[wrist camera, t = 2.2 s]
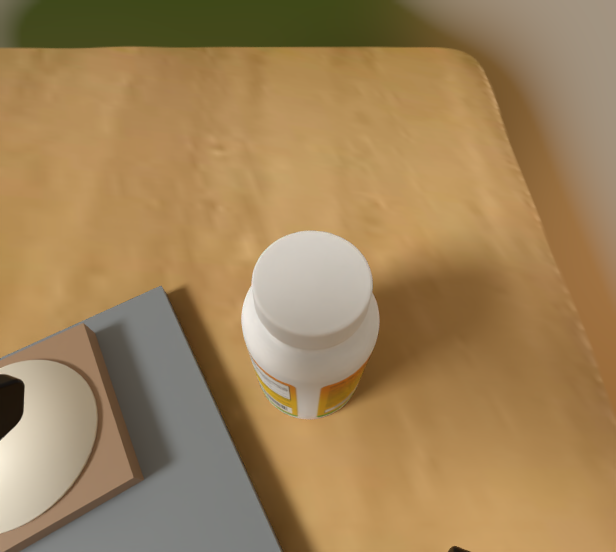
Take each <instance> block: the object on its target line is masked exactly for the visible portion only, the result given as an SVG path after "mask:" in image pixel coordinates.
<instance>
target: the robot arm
mask: <svg viewBox="0 0 616 552" xmlns="http://www.w3.org/2000/svg"><path fill="white" fill-rule="evenodd" d="M24 392H25V385H24V383H23V381H22V380H21V379H18V378H16V377H13V376H10V375H7V374H0V440H2V439H3V438H4V437H5V436H6V435H7V434H8V433H9V432H10V431H11V430H12V429H13V428H14V427H15V426H16V425H17V424H18V423H19V421H20V420H21V418H22V416H23V412H24ZM448 552H470V551H467V550H465V549H462V548H460V547H457V546H453V547H451V548H450V550H449V551H448Z"/></svg>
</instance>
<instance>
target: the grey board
mask: <svg viewBox="0 0 616 552" xmlns="http://www.w3.org/2000/svg"><path fill="white" fill-rule="evenodd" d="M0 374H7V375H10V376H13V377H16V378H18V379H21V380H22V381H23V383H24V385H25V392H24V412H23V416H22V418H21V420H20V421H19V423H18V424H17V425H16V426H15V427H14V428H13V429H12V430H11V431H10V432H9V433H8V434H7V435H6V436H5V437H4V438H3V439H2V440H0V552H283V550H282V548H281V546H280V544H279V541H278V539H277V537H276V535H275V533H274V530H273V528H272V526H271V524H270V521H269V519H268V517H267V515H266V513H265V510H264V508H263V506H262V504H261V502H260V499H259V497H258V495H257V493H256V491H255V488H254V486H253V484H252V482H251V480H250V477H249V475H248V473H247V471H246V468H245V466H244V464H243V462H242V460H241V457H240V455H239V453H238V451H237V449H236V446H235V444H234V442H233V440H232V438H231V435H230V433H229V431H228V429H227V426H226V424H225V422H224V420H223V418H222V415H221V413H220V411H219V409H218V407H217V404H216V402H215V400H214V398H213V396H212V393H211V391H210V389H209V387H208V385H207V382H206V380H205V378H204V376H203V373H202V371H201V369H200V367H199V365H198V362H197V360H196V358H195V356H194V354H193V351H192V349H191V347H190V345H189V343H188V340H187V338H186V336H185V334H184V332H183V329H182V327H181V325H180V323H179V320H178V318H177V316H176V314H175V312H174V309H173V307H172V305H171V303H170V301H169V298H168V296H167V294H166V292H165V291H164V289H163V288H162V286H159V287H157V288H155V289H152V290H150V291H148V292H146V293H144V294H141V295H139V296H137V297H135V298H133V299H130V300H128V301H126V302H124V303H121V304H119V305H117V306H115V307H113V308H110V309H108V310H106V311H104V312H102V313H99V314H97V315H95V316H93V317H90V318H88V319H86V320H84V321H82V322H79V323H77V324H75V325H73V326H70V327H68V328H66V329H64V330H62V331H59V332H57V333H55V334H53V335H51V336H48V337H46V338H44V339H42V340H39V341H37V342H35V343H33V344H31V345H28V346H26V347H24V348H22V349H20V350H17V351H15V352H13V353H11V354H8V355H6V356H4V357H2V358H0Z"/></svg>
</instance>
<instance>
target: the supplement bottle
mask: <svg viewBox="0 0 616 552" xmlns="http://www.w3.org/2000/svg"><path fill="white" fill-rule="evenodd" d="M372 290H373V280H372V274H371V270H370V267H369V265H368V263H367V261H366V259H365V257H364V256H363V255H362V253H361V252H360V251H359V250H358V249H357V248H356V247H355V246H354V245H352V244H351V243H350V242H348V241H347V240H345V239H343V238H341V237H339V236H337V235H334V234H331V233H327V232H322V231H301V232H296V233H293V234H289V235H287V236H284V237H282V238H280V239H278V240H277V241H275V242H274V243H272V244H271V245H270V246H269V247H268V248H267V249H266V250H265V251H264V252H263V253H262V254H261V256H260V257H259V259H258V261H257V263H256V265H255V268H254V271H253V275H252V286H251V287H250V289H249V291H248V293H247V295H246V298H245V300H244V304H243V309H242V330H243V335H244V339H245V343H246V346H247V349H248V351H249V354H250V357H251V360H252V363H253V366H254V369H255V372H256V375H257V378H258V381H259V383H260V386H261V388H262V390H263V392H264V394H265V395H266V397H267V398H268V400H269V401H270V402H271V403H272V404H273V405H274V406H275V407H276V408H277V409H279V410H280V411H282V412H283V413H285V414H287V415H289V416H292V417H295V418H300V419H318V418H322V417H325V416H328V415H330V414H332V413H334V412H336V411H337V410H339V409H340V408H341V407H343V406H344V405H345V404H346V403H347V402H348V400H349V399H350V398H351V396H352V395H353V393H354V391H355V390H356V388H357V385H358V383H359V381H360V378H361V376H362V374H363V372H364V369H365V367H366V365H367V362H368V360H369V358H370V356H371V353H372V351H373V349H374V346H375V343H376V340H377V337H378V332H379V324H380V320H379V310H378V305H377V302H376V299H375V296H374V294H373V293H372Z"/></svg>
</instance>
